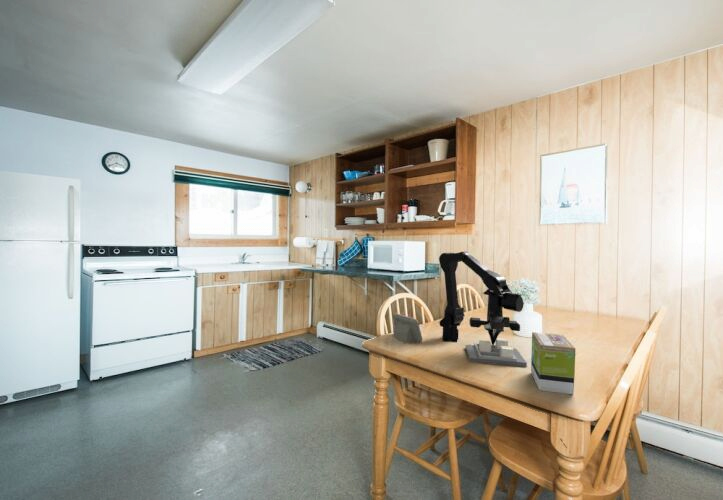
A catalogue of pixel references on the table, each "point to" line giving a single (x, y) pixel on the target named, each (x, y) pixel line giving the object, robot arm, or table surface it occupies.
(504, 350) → the tab
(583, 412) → the table surface
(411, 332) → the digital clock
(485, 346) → the white cube block
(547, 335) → the tea box
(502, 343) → the tab
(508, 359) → the switch bank
